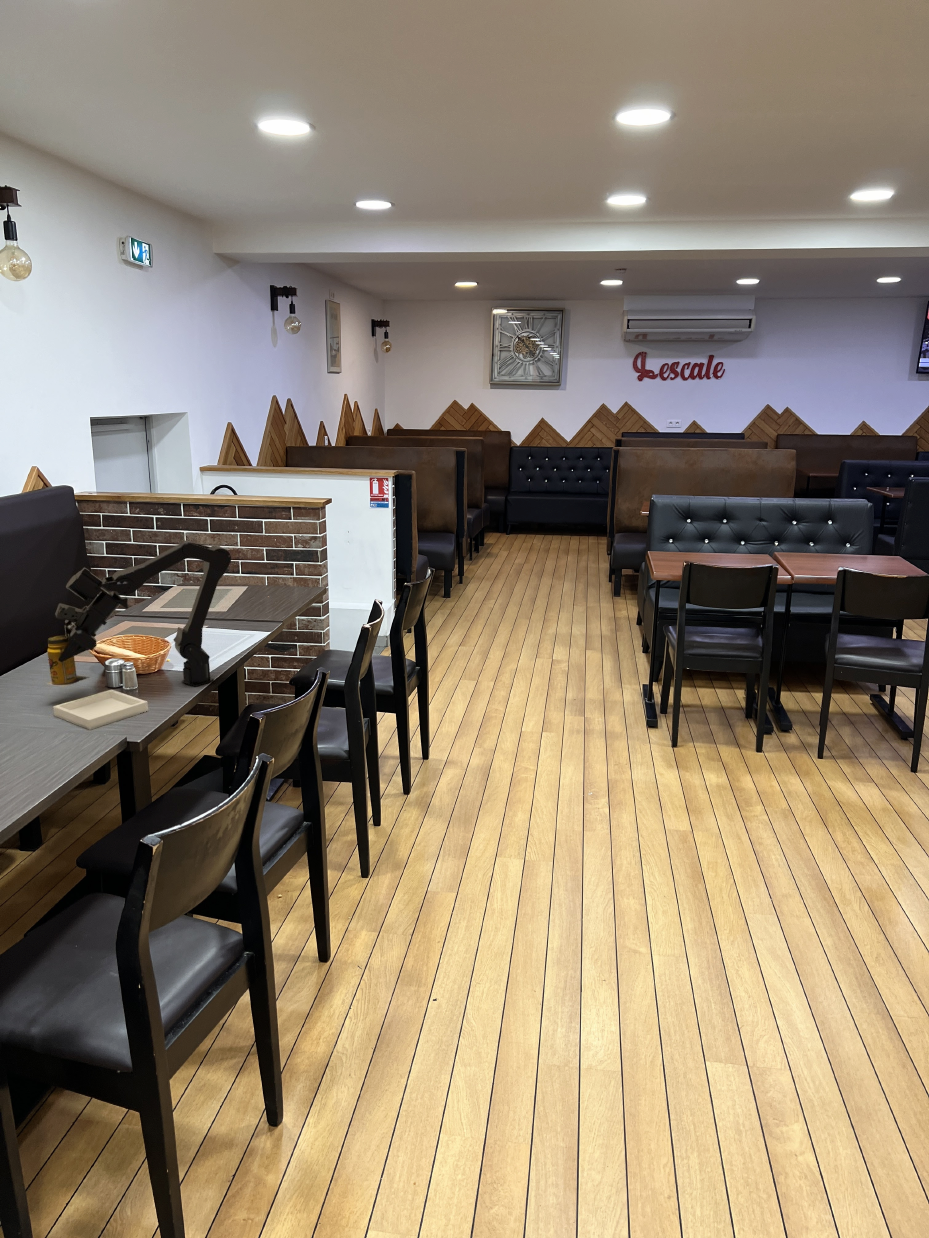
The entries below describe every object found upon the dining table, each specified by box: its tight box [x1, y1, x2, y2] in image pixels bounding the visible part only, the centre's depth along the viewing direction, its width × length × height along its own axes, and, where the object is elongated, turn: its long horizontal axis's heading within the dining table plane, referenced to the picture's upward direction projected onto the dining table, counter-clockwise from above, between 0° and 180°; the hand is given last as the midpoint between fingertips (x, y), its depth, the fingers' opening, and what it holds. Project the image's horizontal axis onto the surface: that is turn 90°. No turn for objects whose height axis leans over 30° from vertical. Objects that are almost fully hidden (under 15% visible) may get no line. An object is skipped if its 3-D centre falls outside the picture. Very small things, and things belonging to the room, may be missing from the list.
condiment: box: [44, 635, 90, 687], centre depth 221 cm, size 7×8×12 cm
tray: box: [52, 689, 149, 731], centre depth 215 cm, size 16×16×2 cm
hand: (58, 657), depth 220 cm, fingers closed on condiment, 6 cm apart
